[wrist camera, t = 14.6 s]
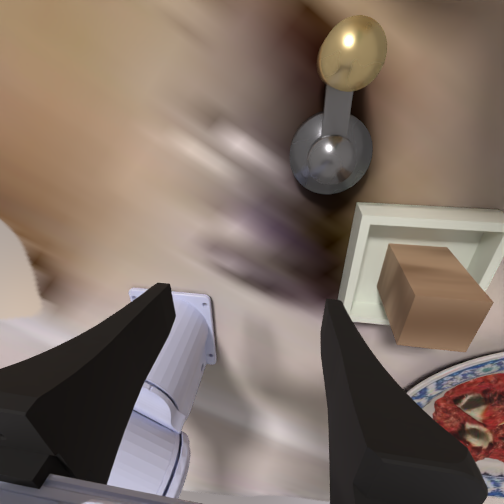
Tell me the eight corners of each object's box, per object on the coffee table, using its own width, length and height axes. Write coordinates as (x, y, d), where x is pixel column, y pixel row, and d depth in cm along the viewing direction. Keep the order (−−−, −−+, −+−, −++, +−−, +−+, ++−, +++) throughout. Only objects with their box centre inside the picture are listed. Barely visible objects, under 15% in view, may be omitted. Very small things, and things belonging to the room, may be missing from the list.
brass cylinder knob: (350, 180, 18) (361, 203, 15) (305, 178, 19) (306, 201, 15) (374, 27, 15) (396, 13, 11) (317, 30, 15) (321, 17, 12)
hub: (360, 190, 20) (363, 196, 19) (288, 186, 21) (287, 192, 20) (376, 110, 18) (380, 112, 17) (293, 109, 18) (292, 111, 17)
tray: (450, 312, 24) (463, 332, 22) (337, 301, 25) (340, 320, 24) (499, 209, 20) (520, 224, 18) (356, 202, 21) (362, 215, 19)
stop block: (429, 291, 23) (465, 352, 18) (376, 286, 23) (396, 344, 18) (447, 247, 21) (493, 302, 16) (388, 243, 21) (415, 295, 16)
